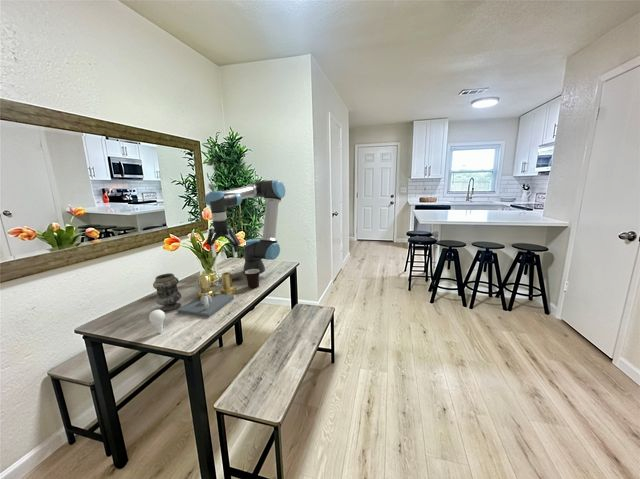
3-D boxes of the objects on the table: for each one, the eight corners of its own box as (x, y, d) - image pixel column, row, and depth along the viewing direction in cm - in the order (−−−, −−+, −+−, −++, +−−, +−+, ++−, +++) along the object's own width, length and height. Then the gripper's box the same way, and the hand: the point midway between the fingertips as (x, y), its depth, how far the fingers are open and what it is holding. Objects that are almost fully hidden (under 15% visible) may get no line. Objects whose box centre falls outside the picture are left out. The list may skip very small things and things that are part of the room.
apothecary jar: (174, 300, 154) (168, 270, 150) (187, 304, 148) (182, 273, 144) (152, 310, 144) (146, 278, 139) (166, 315, 138) (160, 281, 134)
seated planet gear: (205, 292, 159) (202, 272, 156) (218, 293, 156) (215, 273, 153) (193, 299, 150) (190, 278, 147) (207, 300, 148) (204, 279, 145)
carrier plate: (205, 295, 159) (203, 281, 157) (234, 298, 153) (232, 284, 151) (177, 313, 139) (174, 297, 137) (209, 317, 134) (206, 300, 132)
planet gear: (226, 289, 167) (224, 270, 164) (239, 290, 164) (237, 271, 162) (217, 295, 159) (214, 275, 156) (230, 296, 156) (228, 277, 153)
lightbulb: (153, 338, 118) (148, 315, 115) (151, 332, 123) (147, 310, 120) (168, 333, 121) (164, 310, 119) (166, 327, 126) (162, 305, 124)
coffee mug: (257, 289, 164) (255, 274, 162) (244, 289, 166) (242, 273, 164) (264, 282, 175) (263, 267, 173) (252, 281, 177) (250, 267, 175)
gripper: (195, 221, 148) (201, 258, 154) (236, 221, 142) (241, 260, 147) (204, 218, 155) (210, 254, 161) (243, 218, 149) (248, 255, 154)
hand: (225, 257), depth 154 cm, fingers open, 13 cm apart
